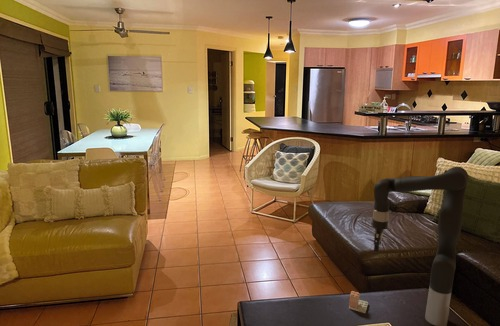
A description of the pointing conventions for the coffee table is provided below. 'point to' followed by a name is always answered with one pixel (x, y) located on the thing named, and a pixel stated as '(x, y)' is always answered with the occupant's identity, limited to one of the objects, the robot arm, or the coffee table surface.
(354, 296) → the brick stack
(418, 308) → the coffee table surface
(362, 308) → the stud plate
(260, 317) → the coffee table surface
